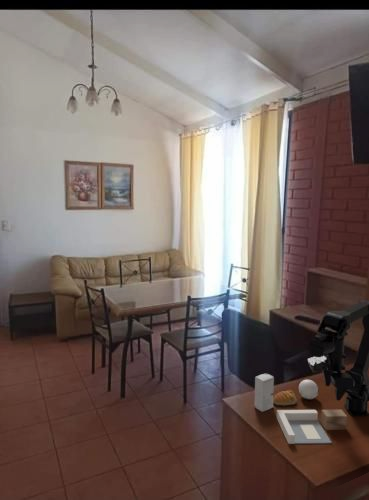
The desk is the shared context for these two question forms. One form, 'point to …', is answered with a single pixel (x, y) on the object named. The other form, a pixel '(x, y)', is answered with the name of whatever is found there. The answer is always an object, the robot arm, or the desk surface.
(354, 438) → the desk surface
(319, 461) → the desk surface
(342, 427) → the walnut block
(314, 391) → the white egg
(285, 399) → the pastry
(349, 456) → the desk surface
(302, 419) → the corner arena
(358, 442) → the desk surface
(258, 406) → the skincare box
